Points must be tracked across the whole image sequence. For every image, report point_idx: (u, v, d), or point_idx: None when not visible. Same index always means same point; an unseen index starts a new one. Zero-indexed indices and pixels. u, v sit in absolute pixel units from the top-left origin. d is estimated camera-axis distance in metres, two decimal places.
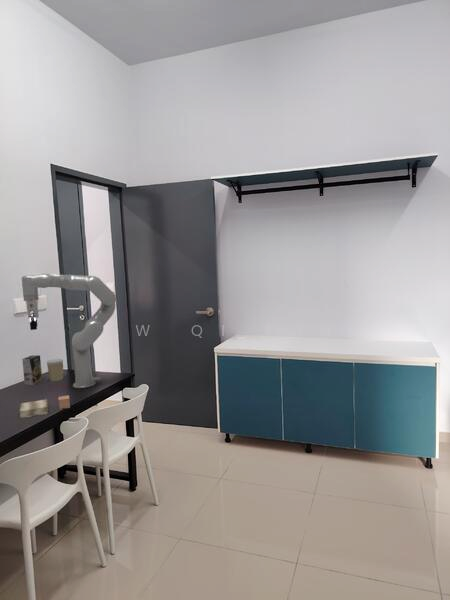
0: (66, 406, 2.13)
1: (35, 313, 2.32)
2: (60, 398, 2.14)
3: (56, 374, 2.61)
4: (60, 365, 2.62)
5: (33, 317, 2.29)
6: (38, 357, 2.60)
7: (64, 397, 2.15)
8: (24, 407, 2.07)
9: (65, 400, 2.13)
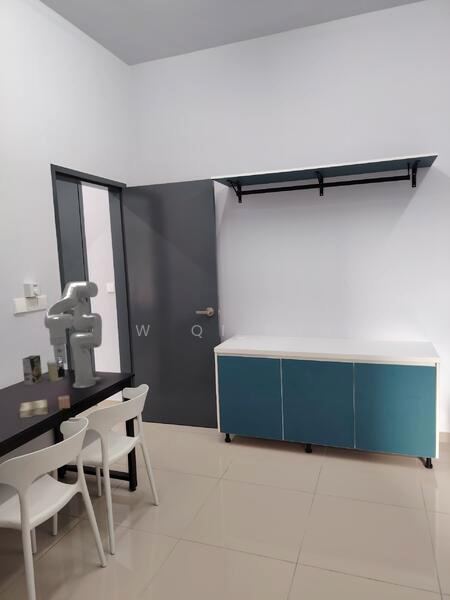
0: (66, 406, 2.13)
1: (63, 359, 2.08)
2: (60, 398, 2.14)
3: (56, 374, 2.61)
4: None
5: (61, 364, 2.05)
6: (38, 357, 2.60)
7: (64, 397, 2.15)
8: (24, 407, 2.07)
9: (65, 400, 2.13)
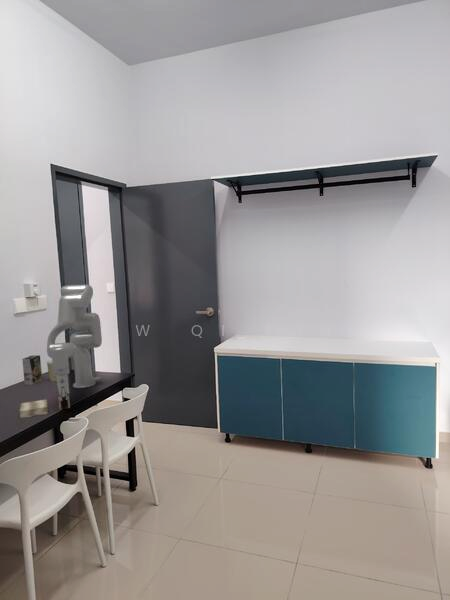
0: None
1: (66, 389, 2.10)
2: (60, 398, 2.14)
3: None
4: None
5: (65, 396, 2.09)
6: (38, 357, 2.60)
7: None
8: (24, 407, 2.07)
9: None
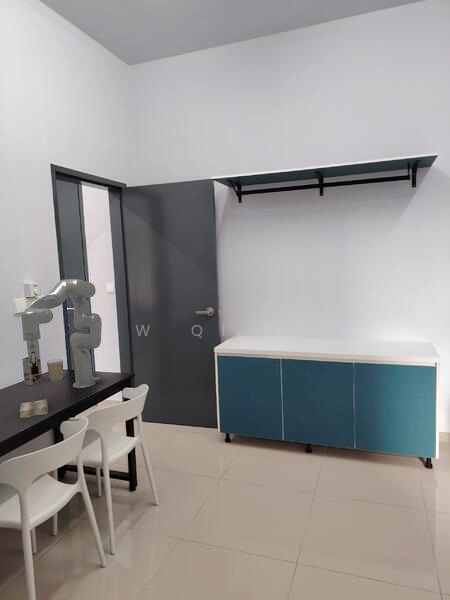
0: None
1: (37, 354, 2.03)
2: (30, 364, 2.07)
3: (56, 374, 2.61)
4: (60, 365, 2.62)
5: (35, 362, 2.03)
6: None
7: None
8: (24, 407, 2.07)
9: None
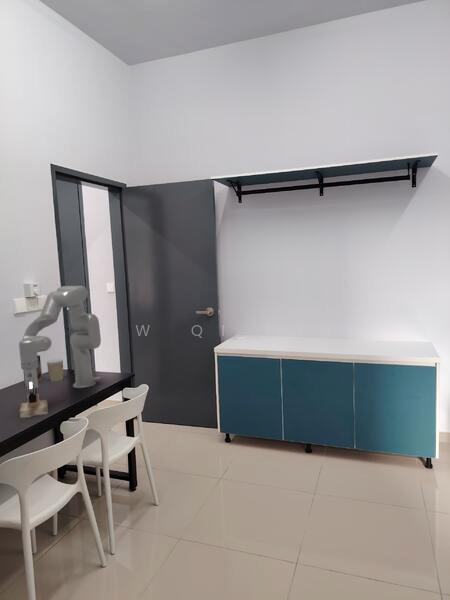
0: (35, 404, 2.08)
1: (34, 383, 2.04)
2: None
3: (56, 374, 2.61)
4: (60, 365, 2.62)
5: (32, 390, 2.03)
6: (38, 357, 2.60)
7: None
8: (24, 407, 2.07)
9: None
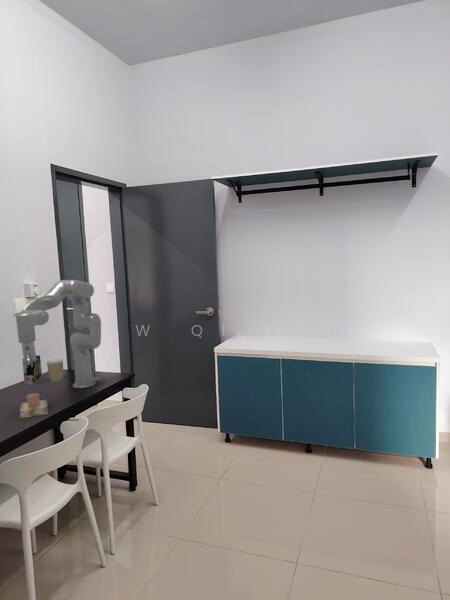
0: (35, 404, 2.08)
1: (32, 356, 2.03)
2: (28, 396, 2.08)
3: (56, 374, 2.61)
4: (60, 365, 2.62)
5: (30, 362, 2.00)
6: (38, 357, 2.60)
7: (33, 395, 2.09)
8: (24, 407, 2.07)
9: (34, 398, 2.07)
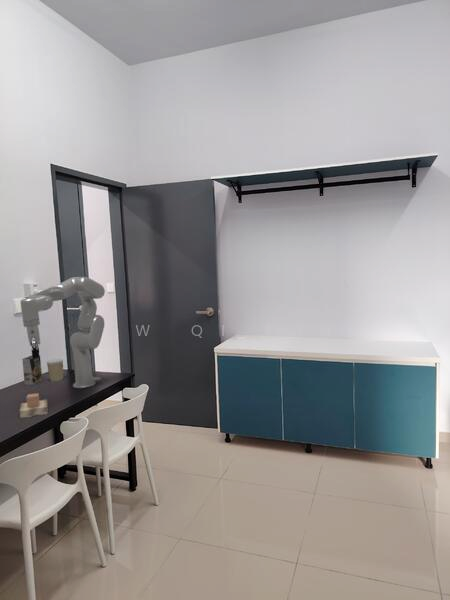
0: (34, 404, 2.07)
1: (37, 340, 2.13)
2: (28, 396, 2.08)
3: (56, 374, 2.61)
4: (60, 365, 2.62)
5: (35, 344, 2.10)
6: (38, 357, 2.60)
7: (33, 395, 2.09)
8: (24, 407, 2.07)
9: (33, 398, 2.07)
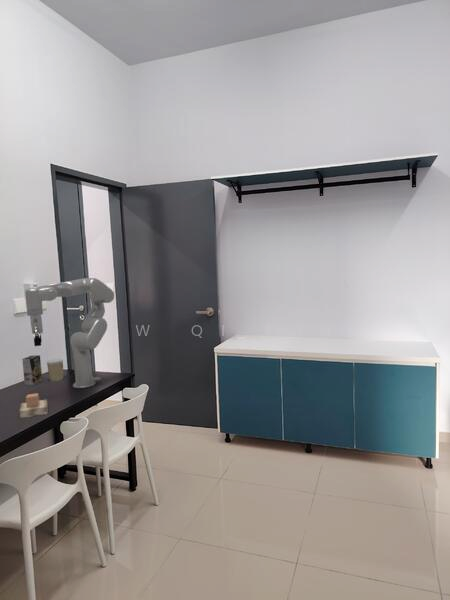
0: (34, 404, 2.07)
1: (39, 328, 2.20)
2: (28, 396, 2.08)
3: (56, 374, 2.61)
4: (60, 365, 2.62)
5: (37, 333, 2.17)
6: (38, 357, 2.60)
7: (32, 395, 2.09)
8: (24, 407, 2.07)
9: (33, 398, 2.07)
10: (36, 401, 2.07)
